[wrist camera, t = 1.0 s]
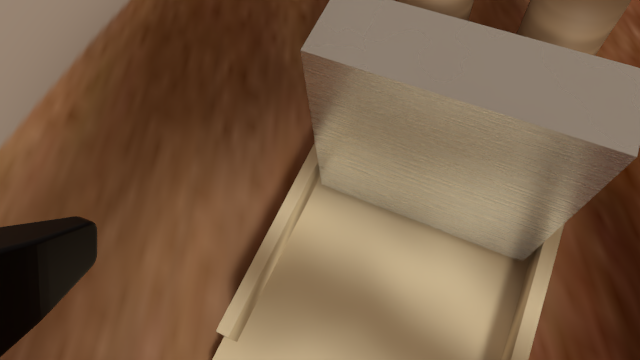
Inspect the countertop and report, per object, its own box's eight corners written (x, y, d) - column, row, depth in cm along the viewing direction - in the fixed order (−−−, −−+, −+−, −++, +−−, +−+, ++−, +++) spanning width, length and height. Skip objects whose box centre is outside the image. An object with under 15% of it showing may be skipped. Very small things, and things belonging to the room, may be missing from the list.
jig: (466, 517, 19) (535, 584, 12) (209, 381, 22) (134, 366, 15) (585, 92, 27) (670, -26, 20) (386, 33, 30) (395, -90, 23)
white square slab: (522, 261, 22) (636, 156, 13) (321, 184, 24) (300, 49, 15) (538, 205, 23) (655, 72, 14) (345, 136, 25) (338, -15, 16)
